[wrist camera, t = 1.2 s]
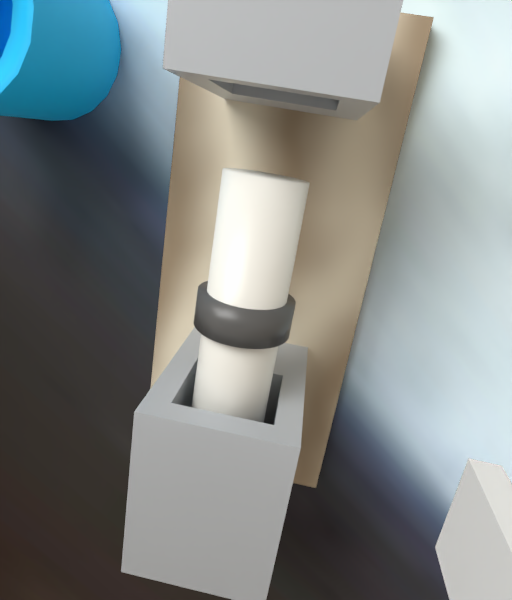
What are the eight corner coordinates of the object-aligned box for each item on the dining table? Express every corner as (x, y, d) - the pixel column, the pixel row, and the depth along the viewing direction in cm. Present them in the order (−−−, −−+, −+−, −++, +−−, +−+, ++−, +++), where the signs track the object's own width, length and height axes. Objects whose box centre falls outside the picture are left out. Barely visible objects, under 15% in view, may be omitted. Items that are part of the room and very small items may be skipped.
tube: (257, 491, 27) (246, 555, 22) (183, 474, 27) (158, 534, 23) (319, 181, 21) (318, 189, 17) (224, 164, 21) (200, 168, 17)
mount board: (149, 440, 33) (144, 449, 32) (194, -12, 24) (188, -18, 23) (315, 478, 32) (315, 488, 31) (428, 22, 23) (433, 17, 22)
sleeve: (281, 467, 31) (264, 607, 22) (181, 445, 32) (121, 571, 22) (308, 347, 28) (300, 448, 19) (196, 324, 29) (134, 411, 19)
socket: (357, 120, 24) (379, 102, 14) (224, 98, 24) (162, 67, 15) (375, 33, 22) (414, -50, 13) (235, 12, 23) (174, -82, 14)
